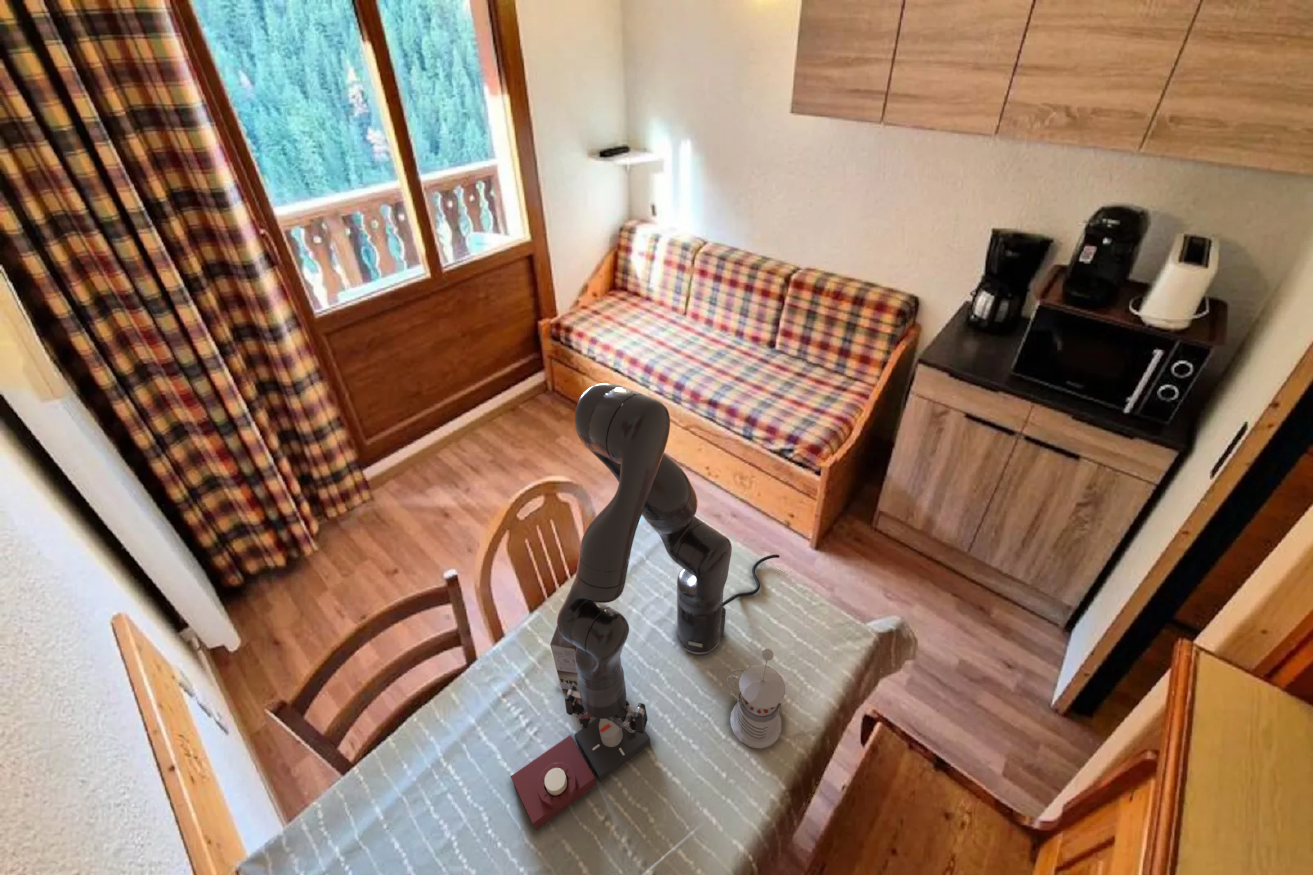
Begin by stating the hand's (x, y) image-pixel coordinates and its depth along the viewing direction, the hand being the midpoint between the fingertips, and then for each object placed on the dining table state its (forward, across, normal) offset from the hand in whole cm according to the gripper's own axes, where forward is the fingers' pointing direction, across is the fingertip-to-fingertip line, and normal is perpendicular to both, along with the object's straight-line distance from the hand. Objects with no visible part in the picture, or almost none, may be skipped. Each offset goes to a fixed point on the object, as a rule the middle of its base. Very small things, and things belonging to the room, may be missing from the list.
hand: (608, 729), depth 104 cm
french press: (+6, -25, -11) cm, 28 cm away
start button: (+1, +6, +10) cm, 12 cm away
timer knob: (+3, 0, 0) cm, 3 cm away
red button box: (+6, +8, +9) cm, 13 cm away
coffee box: (+6, +10, -12) cm, 17 cm away
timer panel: (+6, 0, 0) cm, 6 cm away
